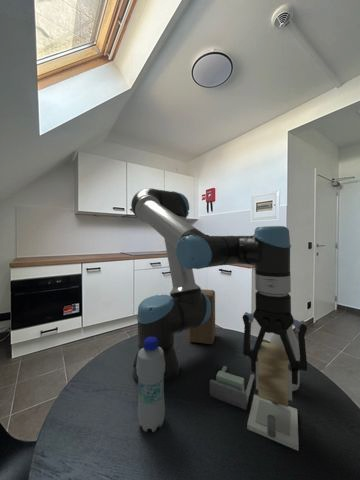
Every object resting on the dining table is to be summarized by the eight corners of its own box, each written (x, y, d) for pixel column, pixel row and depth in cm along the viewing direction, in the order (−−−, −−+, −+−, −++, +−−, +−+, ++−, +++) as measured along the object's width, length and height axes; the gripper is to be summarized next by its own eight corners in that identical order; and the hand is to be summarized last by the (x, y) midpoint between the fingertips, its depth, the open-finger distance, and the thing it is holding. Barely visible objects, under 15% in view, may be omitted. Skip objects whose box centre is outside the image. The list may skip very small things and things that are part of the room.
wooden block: (193, 332, 93) (193, 288, 93) (215, 334, 90) (215, 289, 90) (188, 342, 83) (188, 293, 83) (213, 345, 80) (212, 295, 81)
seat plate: (246, 431, 45) (246, 411, 45) (254, 396, 55) (254, 379, 55) (298, 453, 40) (298, 431, 40) (297, 411, 50) (297, 393, 50)
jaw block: (258, 396, 46) (257, 353, 46) (261, 380, 51) (261, 341, 51) (288, 407, 43) (287, 360, 43) (288, 388, 48) (288, 347, 48)
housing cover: (216, 393, 56) (216, 375, 56) (219, 386, 59) (219, 369, 59) (242, 402, 53) (242, 383, 53) (244, 395, 55) (244, 377, 55)
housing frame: (209, 396, 55) (209, 381, 55) (223, 368, 67) (223, 356, 66) (246, 410, 51) (245, 394, 50) (254, 378, 62) (254, 365, 62)
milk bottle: (304, 394, 55) (303, 321, 55) (273, 390, 57) (273, 319, 57) (294, 375, 63) (293, 311, 63) (267, 372, 65) (267, 310, 64)
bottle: (170, 416, 49) (170, 334, 49) (156, 441, 43) (155, 348, 43) (147, 406, 52) (146, 329, 52) (130, 429, 46) (129, 341, 46)
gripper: (227, 291, 49) (229, 387, 49) (324, 302, 39) (325, 420, 39) (235, 285, 55) (236, 369, 55) (319, 293, 46) (320, 394, 46)
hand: (273, 390), depth 47 cm, fingers closed on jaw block, 6 cm apart
